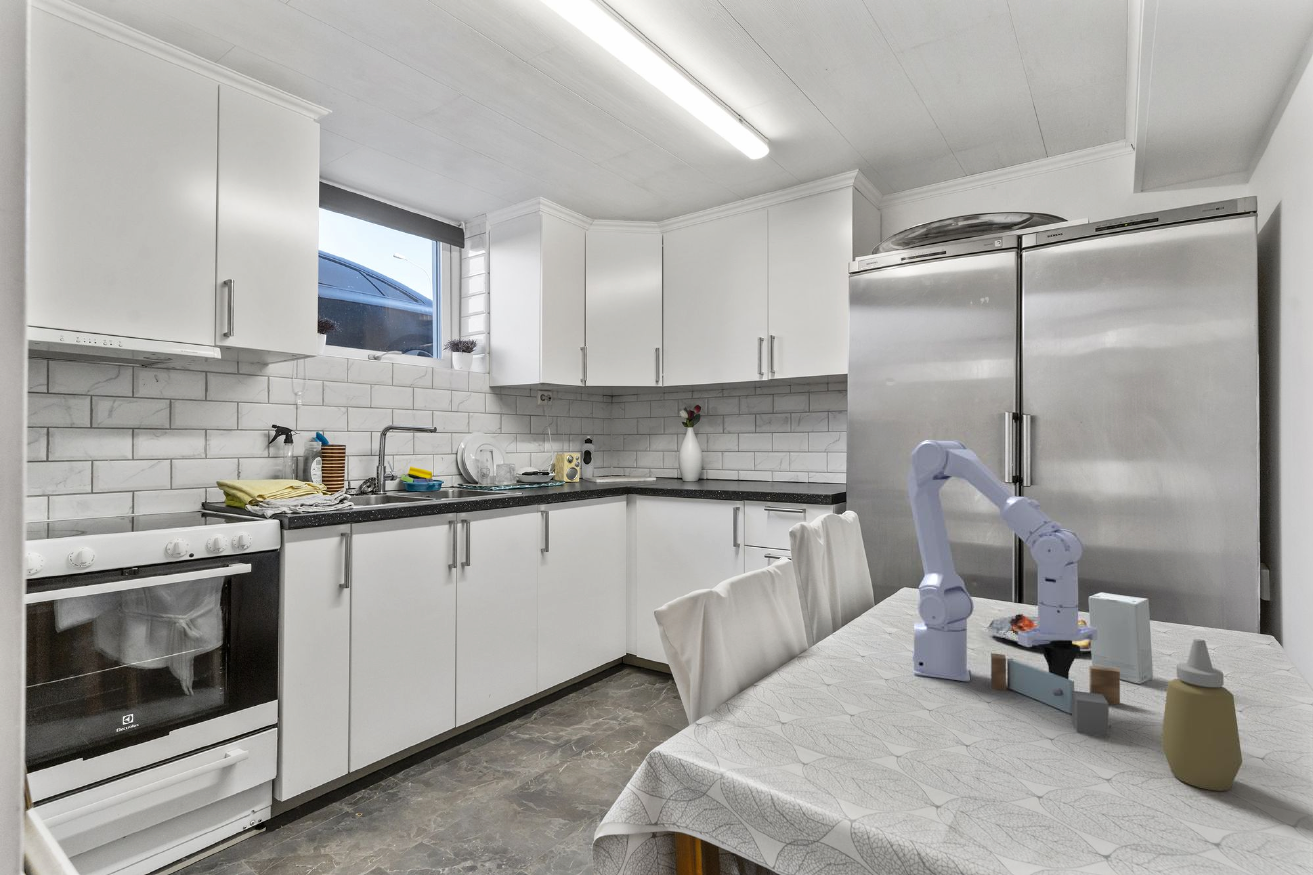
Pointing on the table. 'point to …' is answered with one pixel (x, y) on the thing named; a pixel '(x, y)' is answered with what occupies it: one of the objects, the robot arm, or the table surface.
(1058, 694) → the door
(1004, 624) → the food plate
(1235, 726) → the squeeze bottle
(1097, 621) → the skincare box
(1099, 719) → the block
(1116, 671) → the door frame
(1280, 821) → the table surface
